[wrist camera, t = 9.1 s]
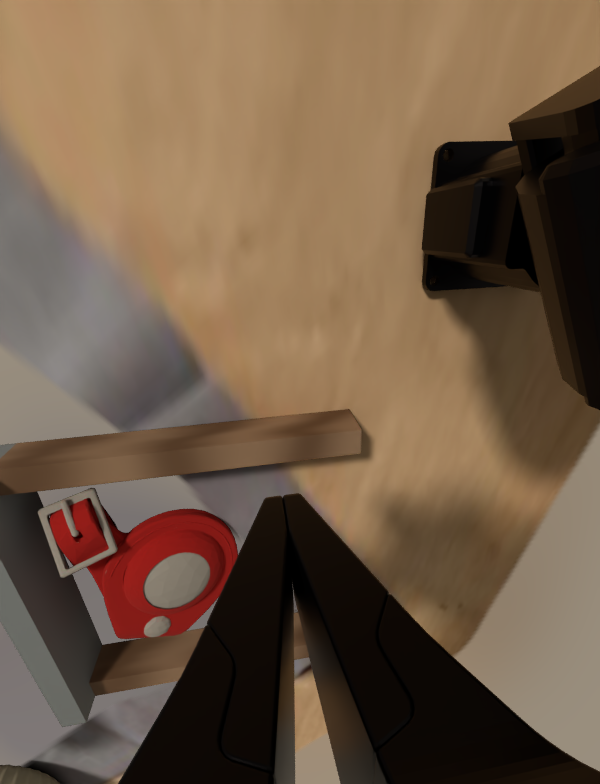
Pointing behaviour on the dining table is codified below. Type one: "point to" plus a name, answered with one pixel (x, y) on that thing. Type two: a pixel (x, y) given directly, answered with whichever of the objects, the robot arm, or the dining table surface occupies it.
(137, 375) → the dining table surface
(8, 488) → the walnut channel
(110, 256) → the dining table surface
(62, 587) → the end stop
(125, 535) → the tracker holder
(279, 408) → the dining table surface
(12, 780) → the canister
